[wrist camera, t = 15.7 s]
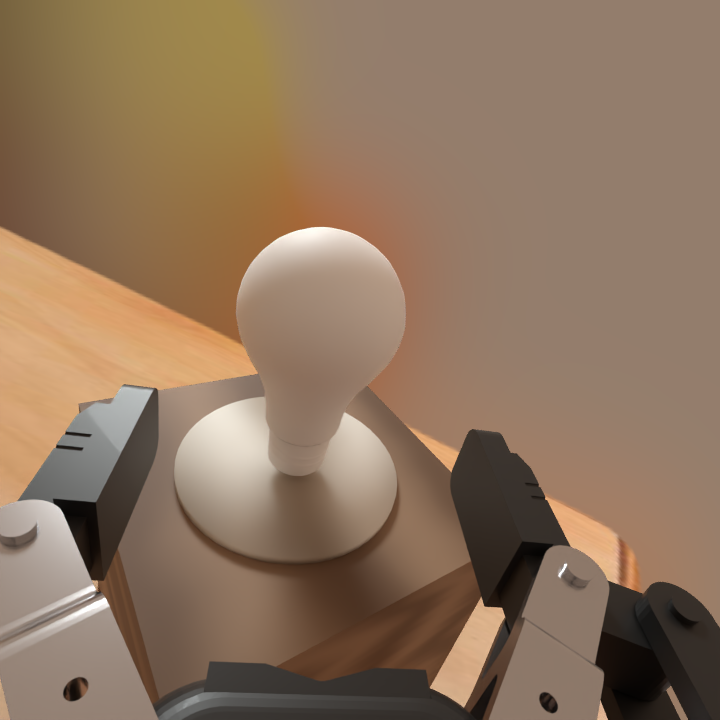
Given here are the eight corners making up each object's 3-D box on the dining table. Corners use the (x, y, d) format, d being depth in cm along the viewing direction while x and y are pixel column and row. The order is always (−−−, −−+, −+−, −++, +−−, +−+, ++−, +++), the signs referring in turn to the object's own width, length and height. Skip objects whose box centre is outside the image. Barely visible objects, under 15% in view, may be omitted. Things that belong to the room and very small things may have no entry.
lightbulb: (369, 441, 24) (429, 230, 19) (346, 540, 19) (420, 291, 13) (252, 409, 25) (277, 191, 19) (199, 499, 19) (210, 236, 14)
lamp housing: (164, 876, 20) (166, 718, 13) (96, 576, 30) (76, 392, 23) (427, 690, 29) (517, 531, 22) (306, 503, 39) (339, 351, 32)
